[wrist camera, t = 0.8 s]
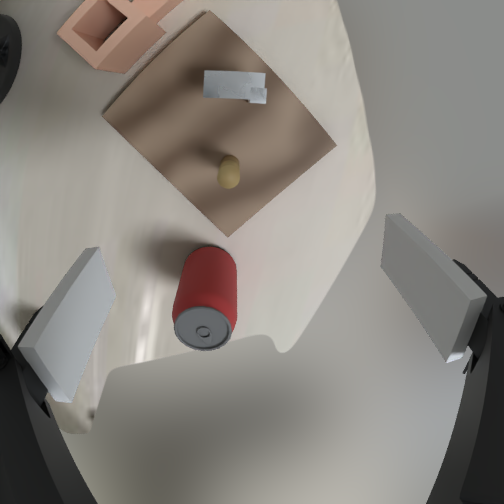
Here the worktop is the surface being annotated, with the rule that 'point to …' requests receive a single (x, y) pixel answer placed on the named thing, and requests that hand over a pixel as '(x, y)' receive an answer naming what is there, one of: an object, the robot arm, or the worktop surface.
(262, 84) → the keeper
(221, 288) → the beer can
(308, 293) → the worktop surface
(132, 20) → the link
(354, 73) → the worktop surface
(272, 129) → the board
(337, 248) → the worktop surface
